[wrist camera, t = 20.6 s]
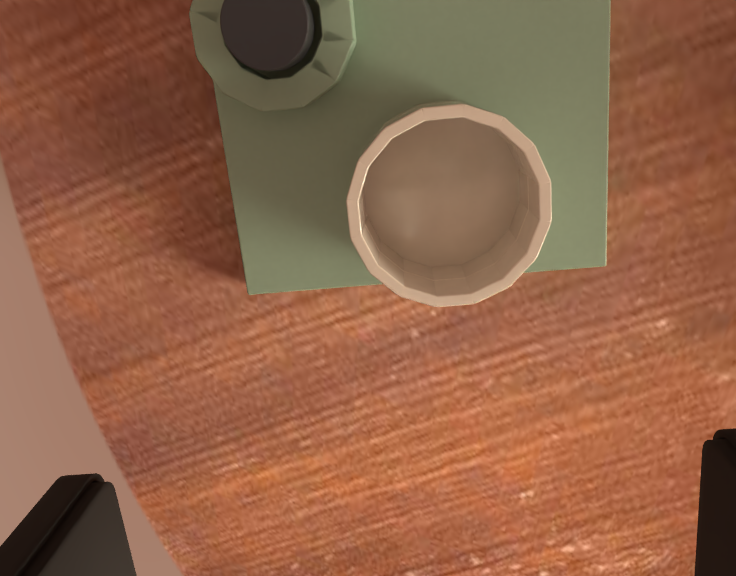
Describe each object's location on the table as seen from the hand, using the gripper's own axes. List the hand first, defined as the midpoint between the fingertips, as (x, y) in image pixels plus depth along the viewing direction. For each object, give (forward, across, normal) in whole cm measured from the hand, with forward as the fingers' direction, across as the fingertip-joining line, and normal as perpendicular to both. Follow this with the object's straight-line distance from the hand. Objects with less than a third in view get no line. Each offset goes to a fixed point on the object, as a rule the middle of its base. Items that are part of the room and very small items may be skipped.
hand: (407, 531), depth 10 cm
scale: (+20, -1, -5) cm, 21 cm away
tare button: (+18, +4, -9) cm, 20 cm away
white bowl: (+19, -2, -2) cm, 19 cm away
